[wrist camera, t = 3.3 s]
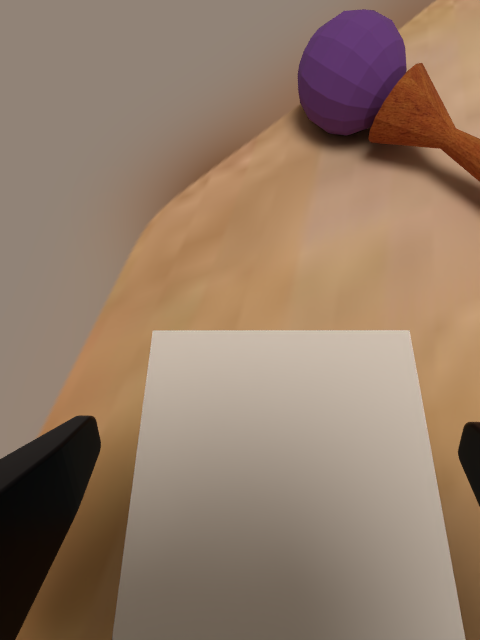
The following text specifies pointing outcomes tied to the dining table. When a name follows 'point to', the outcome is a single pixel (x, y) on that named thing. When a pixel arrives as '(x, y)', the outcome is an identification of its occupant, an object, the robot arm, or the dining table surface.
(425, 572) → the box with white lid
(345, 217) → the dining table surface
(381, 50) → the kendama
